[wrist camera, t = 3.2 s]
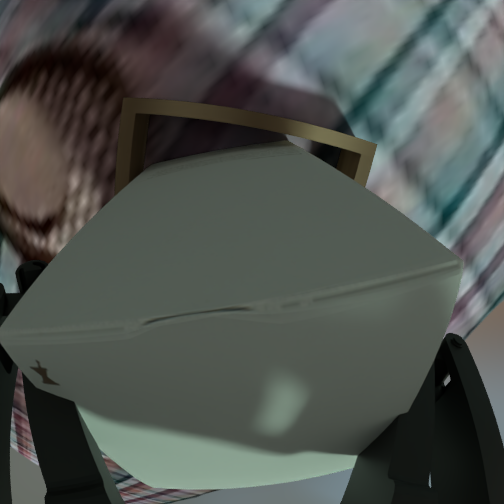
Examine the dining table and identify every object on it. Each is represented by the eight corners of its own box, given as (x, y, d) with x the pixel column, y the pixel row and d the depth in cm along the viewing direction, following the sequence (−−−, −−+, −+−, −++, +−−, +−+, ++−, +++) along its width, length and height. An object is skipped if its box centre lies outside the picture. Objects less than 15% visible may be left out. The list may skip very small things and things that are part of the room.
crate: (129, 287, 21) (118, 312, 18) (140, 98, 15) (123, 97, 12) (302, 309, 23) (310, 335, 20) (356, 137, 17) (377, 144, 14)
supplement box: (181, 283, 21) (146, 491, 8) (147, 163, 17) (-22, 329, 4) (304, 264, 21) (382, 464, 8) (293, 137, 17) (480, 258, 4)
